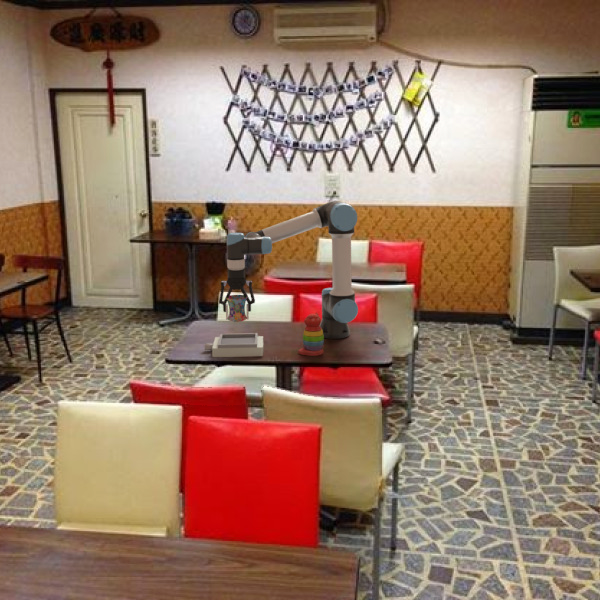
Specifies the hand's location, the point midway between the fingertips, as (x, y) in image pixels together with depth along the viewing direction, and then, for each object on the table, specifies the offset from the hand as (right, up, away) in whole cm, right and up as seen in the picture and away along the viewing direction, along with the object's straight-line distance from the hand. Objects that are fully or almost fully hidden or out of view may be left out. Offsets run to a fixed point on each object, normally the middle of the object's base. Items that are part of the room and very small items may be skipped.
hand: (237, 318), depth 296 cm
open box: (-2, -14, +3) cm, 15 cm away
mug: (0, -1, 0) cm, 1 cm away
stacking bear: (+33, -15, 0) cm, 37 cm away
